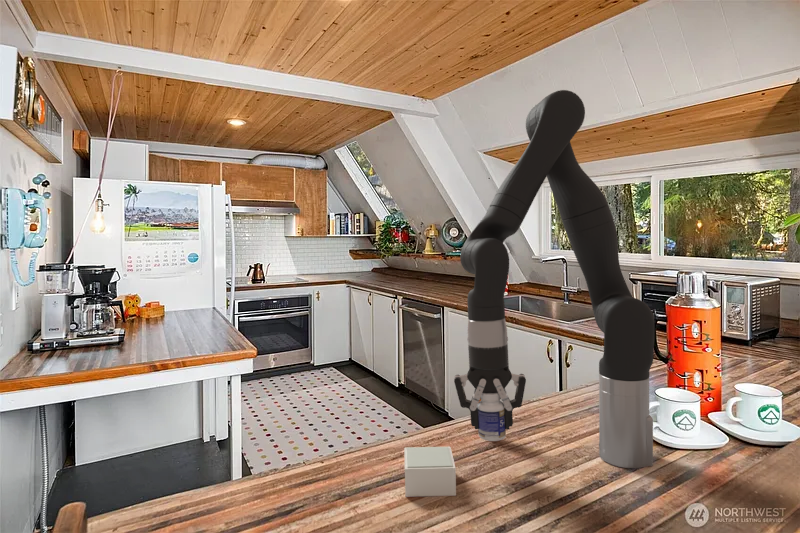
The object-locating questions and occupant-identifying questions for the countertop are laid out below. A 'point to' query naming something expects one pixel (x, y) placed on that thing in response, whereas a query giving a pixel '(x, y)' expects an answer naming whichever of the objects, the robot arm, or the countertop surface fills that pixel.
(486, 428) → the pill bottle
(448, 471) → the pedestal
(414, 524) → the countertop surface
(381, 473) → the countertop surface
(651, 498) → the countertop surface
